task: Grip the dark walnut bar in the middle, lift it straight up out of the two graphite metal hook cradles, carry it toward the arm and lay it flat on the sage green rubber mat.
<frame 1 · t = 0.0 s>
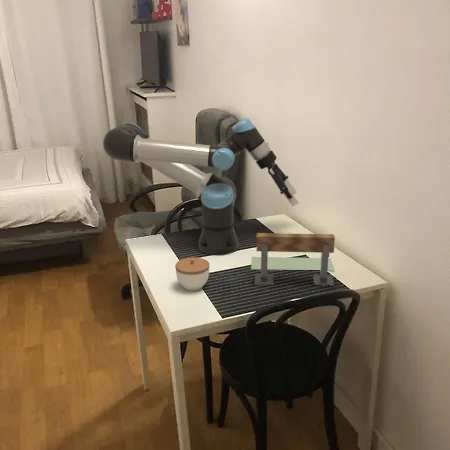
hand: (294, 199, 192), 15 cm above the table, tool tilted 35°, fingers open, 13 cm apart
walnut bar: (294, 250, 156), point 11 cm above the table, touching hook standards
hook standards: (293, 281, 160), on the table
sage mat: (291, 264, 172), on the table
lidded jar: (193, 286, 158), on the table
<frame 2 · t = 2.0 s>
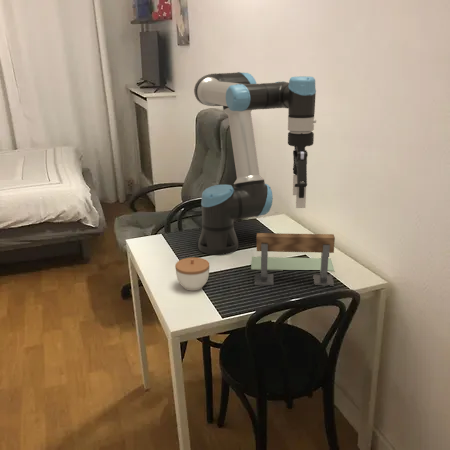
hand: (298, 201, 152), 27 cm above the table, tool pointing down, fingers open, 13 cm apart
nothing on the table moved.
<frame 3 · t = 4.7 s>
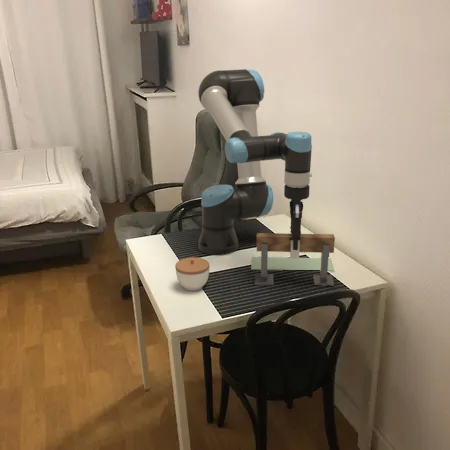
hand: (294, 255, 157), 9 cm above the table, tool pointing down, fingers closed on walnut bar, 3 cm apart
walnut bar: (294, 250, 156), point 11 cm above the table, touching gripper, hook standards
everything else where it was.
when the fingers open (1 cm above the table, at t = 9.9 s): walnut bar drops 3 cm, resting on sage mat.
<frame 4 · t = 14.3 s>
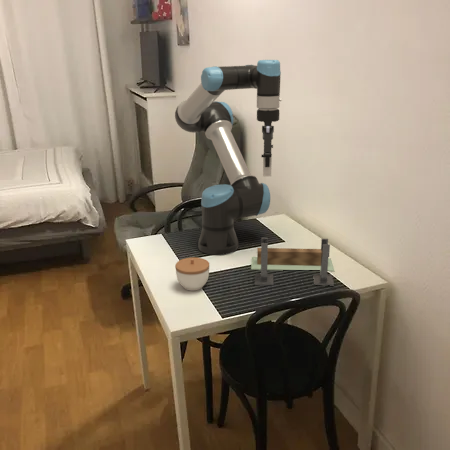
hand: (267, 171, 172), 31 cm above the table, tool pointing down, fingers open, 13 cm apart
walnut bar: (291, 263, 172), resting on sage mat
everything else where it was.
at the end: walnut bar inside the target area on the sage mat (0.0 cm from its centre), point 0.4 cm above the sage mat's base; walnut bar touching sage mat; the gripper is holding nothing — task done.
